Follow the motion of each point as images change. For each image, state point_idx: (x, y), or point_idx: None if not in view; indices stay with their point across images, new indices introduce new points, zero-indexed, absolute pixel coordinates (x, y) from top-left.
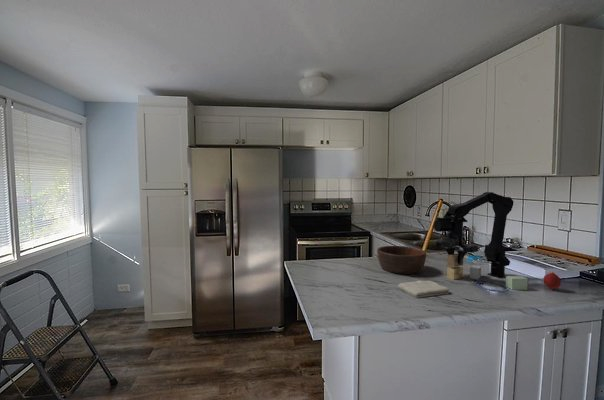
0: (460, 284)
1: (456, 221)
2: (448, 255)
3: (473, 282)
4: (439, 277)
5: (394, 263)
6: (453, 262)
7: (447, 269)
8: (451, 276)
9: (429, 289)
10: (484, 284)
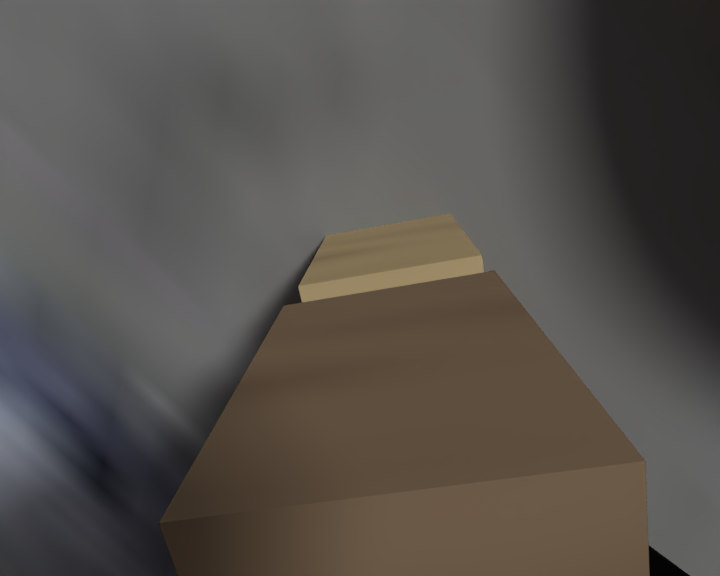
0: (97, 147)
1: None
2: (566, 462)
3: (148, 410)
4: (509, 87)
5: None
6: (280, 356)
7: (468, 248)
8: (365, 238)
9: None
10: (51, 471)
